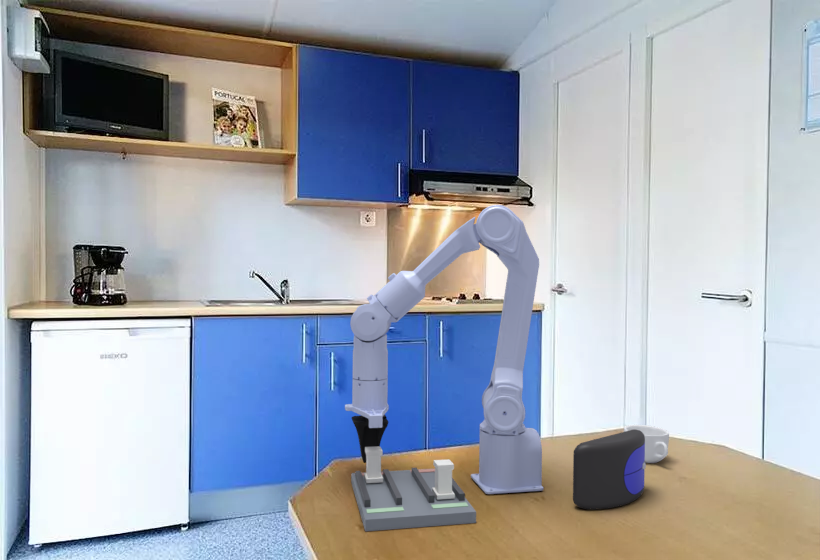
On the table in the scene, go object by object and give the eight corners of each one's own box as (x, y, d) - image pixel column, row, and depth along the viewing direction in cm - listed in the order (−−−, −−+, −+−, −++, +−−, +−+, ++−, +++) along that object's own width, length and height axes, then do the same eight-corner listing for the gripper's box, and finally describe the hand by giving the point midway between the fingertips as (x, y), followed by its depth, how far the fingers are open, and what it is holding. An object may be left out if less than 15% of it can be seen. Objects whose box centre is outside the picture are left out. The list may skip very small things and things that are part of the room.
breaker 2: (449, 490, 85) (449, 458, 85) (454, 498, 82) (455, 465, 82) (432, 491, 84) (432, 459, 84) (437, 499, 81) (437, 466, 81)
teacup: (615, 453, 109) (615, 425, 109) (651, 452, 111) (651, 423, 111) (646, 471, 100) (647, 440, 100) (686, 469, 101) (686, 438, 101)
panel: (442, 477, 95) (442, 462, 95) (476, 522, 78) (476, 504, 78) (351, 482, 92) (351, 467, 92) (365, 531, 75) (365, 512, 75)
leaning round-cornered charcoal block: (597, 518, 80) (597, 450, 80) (569, 508, 83) (570, 442, 83) (661, 493, 89) (661, 432, 89) (634, 485, 93) (634, 426, 93)
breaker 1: (380, 475, 91) (380, 445, 91) (383, 482, 88) (383, 451, 88) (363, 476, 90) (364, 446, 90) (366, 483, 87) (366, 452, 87)
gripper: (341, 371, 100) (341, 449, 100) (349, 386, 86) (348, 477, 86) (382, 370, 102) (381, 447, 102) (396, 385, 87) (395, 475, 88)
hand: (369, 461), depth 94 cm, fingers closed
